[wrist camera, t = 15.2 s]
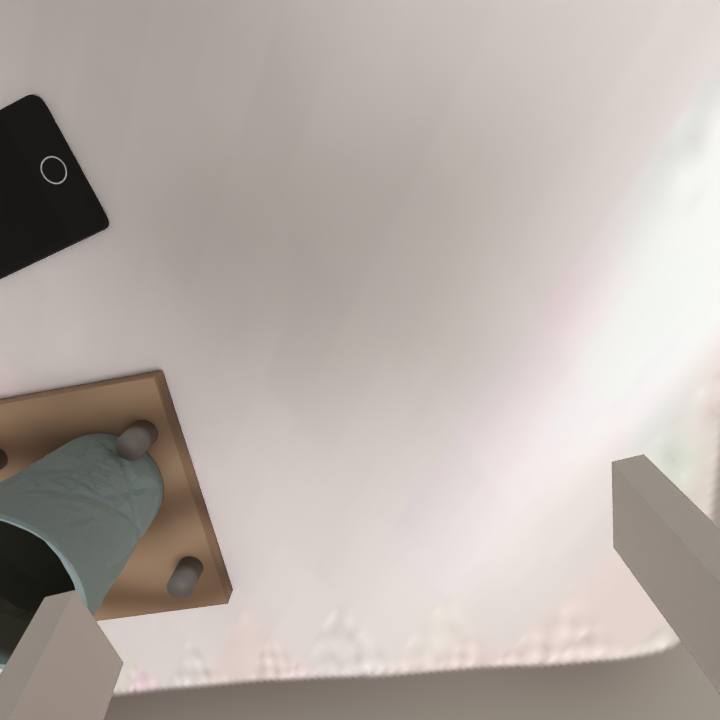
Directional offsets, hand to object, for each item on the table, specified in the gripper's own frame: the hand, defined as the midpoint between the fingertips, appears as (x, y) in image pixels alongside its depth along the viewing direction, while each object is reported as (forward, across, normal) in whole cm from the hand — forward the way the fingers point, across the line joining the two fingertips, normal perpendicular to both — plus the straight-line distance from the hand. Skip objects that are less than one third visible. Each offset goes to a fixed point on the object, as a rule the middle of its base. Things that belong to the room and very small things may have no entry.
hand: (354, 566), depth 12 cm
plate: (+25, -22, -13) cm, 36 cm away
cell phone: (+29, -23, +10) cm, 38 cm away
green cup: (+24, -20, -10) cm, 33 cm away
